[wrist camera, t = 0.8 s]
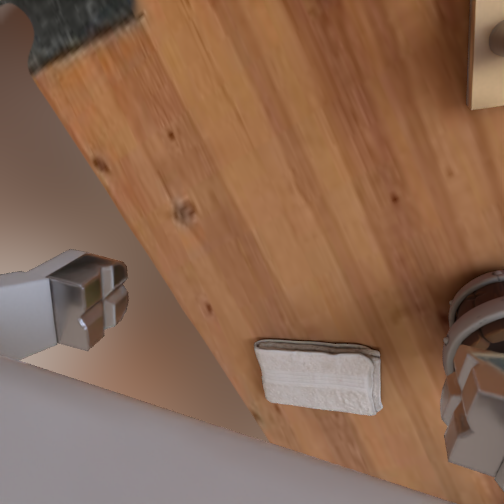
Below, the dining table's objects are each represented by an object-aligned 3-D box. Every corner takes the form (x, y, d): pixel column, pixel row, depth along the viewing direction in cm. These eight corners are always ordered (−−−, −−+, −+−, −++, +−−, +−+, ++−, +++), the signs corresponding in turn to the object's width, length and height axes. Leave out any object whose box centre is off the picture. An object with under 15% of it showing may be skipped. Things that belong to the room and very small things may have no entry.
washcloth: (383, 404, 61) (383, 421, 58) (267, 393, 67) (263, 408, 64) (381, 342, 56) (380, 358, 53) (255, 336, 62) (250, 350, 59)
